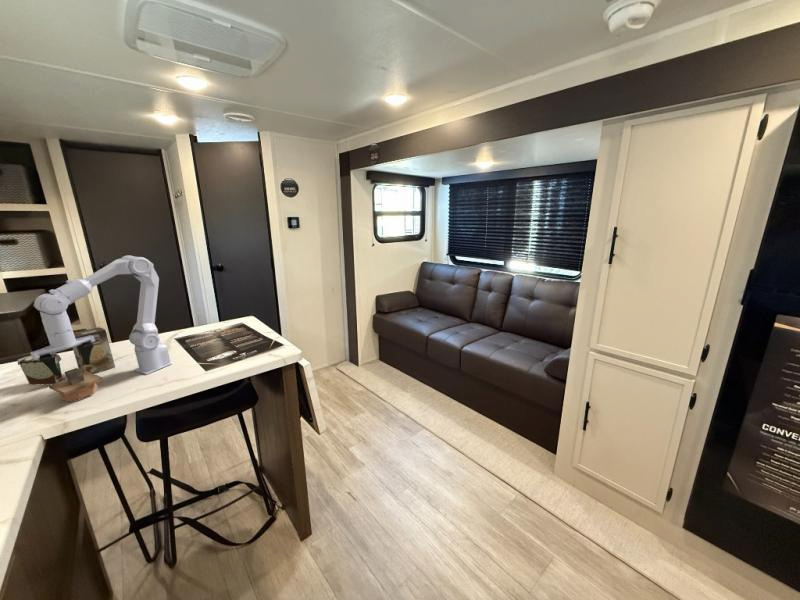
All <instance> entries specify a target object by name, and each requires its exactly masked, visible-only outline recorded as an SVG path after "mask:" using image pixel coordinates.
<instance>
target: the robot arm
mask: <svg viewBox="0 0 800 600" xmlns="http://www.w3.org/2000/svg"><path fill="white" fill-rule="evenodd" d="M118 275H132V276H133V277H134V278H135V279H137V281H139V282H140V289H139V298H138V308H137V309H138V310H137V318H136V323H135V324H134V325H133V327H132V331H131V333H130V334H129V336H128V340H129V342H130V344H132V345H134V348H133V349H134V353H135V358H136V361H137V365H138V367H137V368H134V371H135V372H137V373H141V374H142V375H149V374H151V373H155V372H156V371H159V370H161V369H163V368H166V367H168V366H170V365H172V361H171V357H170V353H169V350H168V348H167V345H166V344H165V343H163V342H161V341H160V340H161V339H160V336H159V330H158V328H157V326H156V324H155V322H156V314H157V313H156V312H157V305H158V304H157V303H158V293H159V284H160V283H159V282H160V277H159V276H158V273H157V271H156V270H155V267H154V263H153V262H151V261H150V260H149V259H147V258H145V257H143V256H133V255H130V254H129V255H124V256H122V257H121V258H117V259H115V260H114V261H112V262H111V263H108V264H107V265H105V266H104V267H102V268H100V269H99V270H97V271H95V272H94V273H91V274H90V275H88V276H86V277H85V278H83V279H80V278H74V279H68V280H66V281H65V282H66V283H65V284H63V285H61V286H59V287H57V288H56V289H53V288H52V289H49V290H48V292H49V293H43V294H40V295H38V296H37V297H36V298H35V299H34V302H33V303H34V304H33V307H34V308H35V309H36V310H37V311H39V313H40V317H41V322H42V325H43V327H44V331H45V333H46V336H47V339H48V343H49V345H48V346H45V347H43V348H40V349H36V350H33V351H30V356H32V358H33V359H39V360H40V361H41V362H43V363H44V364H45V365H46V366H47V367H48V368H49V369H50V370H51V371H52V373H53V375H55V376H58V375H59V371H58V369H57V366H56V362H55V357H52V355H50V354H52V353H57V352H63V351H65V350H68V349H73V348H72V347H76V346H77V347H78V349H79V351H80V353H81V356H82V360H83V363H84V364H85V365H90V354H91V351H92V348H93V343H91V342H94V341H95V339H94V336H91V335H90V336H86V337H81V338H77V339H75V336H74V333H75V331H74V329H73V326H72V324H71V320H70V317H69V315H68V313H67V309H68V307H69V305H72V304H73V303H75V302H77V301H79V300H80V299H82V298H84V297H85V296H87V295H90V294H91V293H92V290H93V287H96V286H98V285H99V284H101V283H103V282H105V281H107V280H109V279H111V278H113V277H115V276H118Z"/></svg>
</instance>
